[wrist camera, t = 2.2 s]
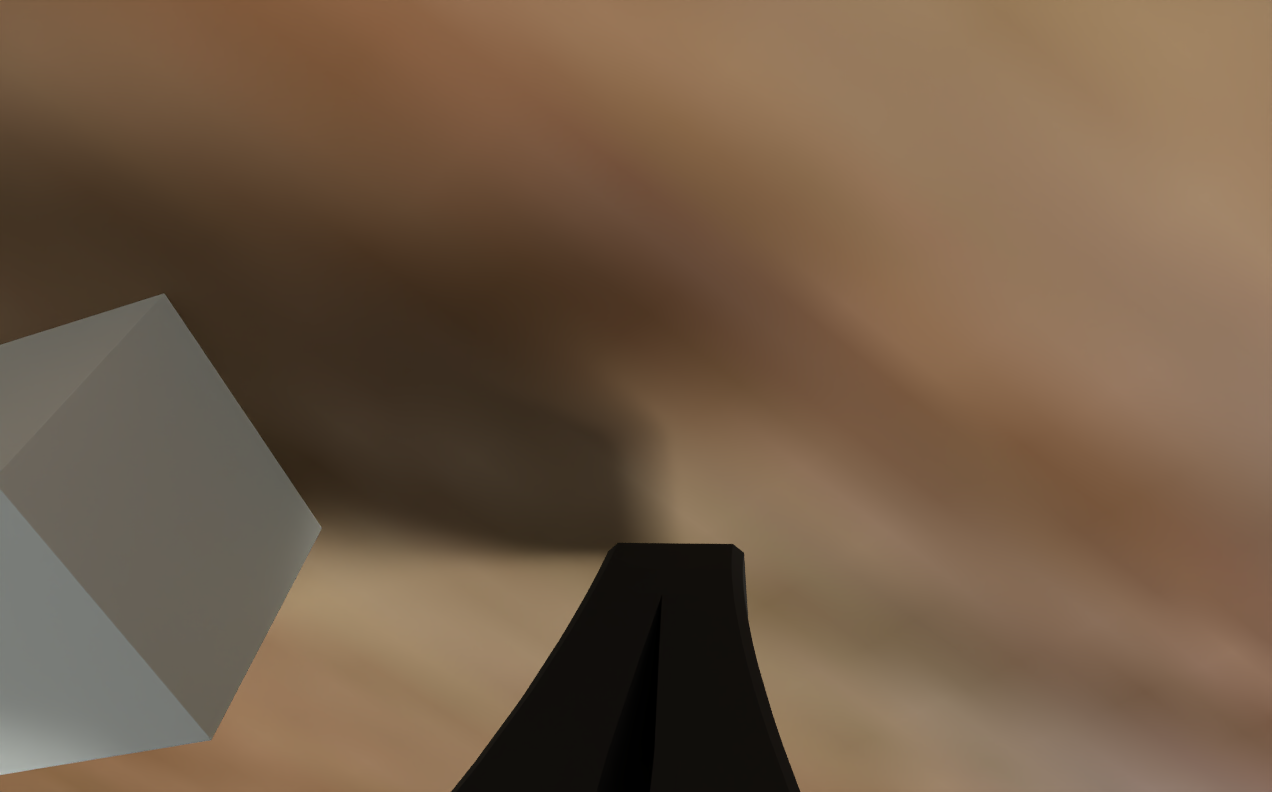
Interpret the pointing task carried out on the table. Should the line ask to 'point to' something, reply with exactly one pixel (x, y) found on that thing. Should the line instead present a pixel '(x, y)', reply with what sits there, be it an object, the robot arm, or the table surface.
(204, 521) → the gray rectangular block
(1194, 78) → the table surface
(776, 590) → the table surface
